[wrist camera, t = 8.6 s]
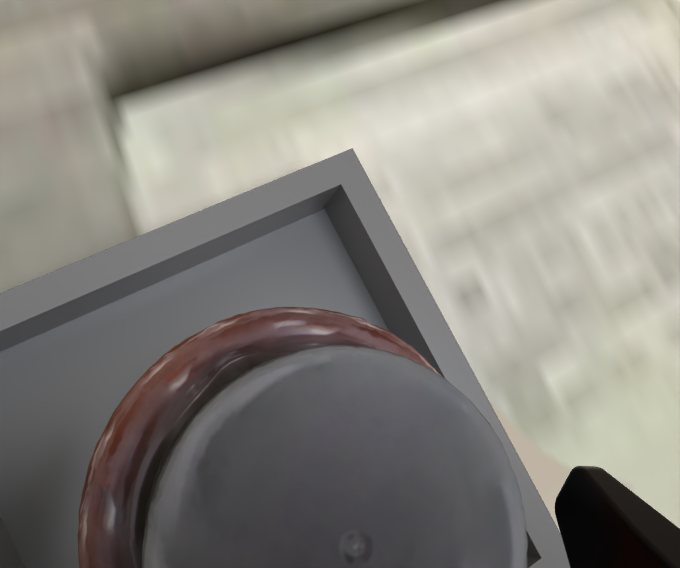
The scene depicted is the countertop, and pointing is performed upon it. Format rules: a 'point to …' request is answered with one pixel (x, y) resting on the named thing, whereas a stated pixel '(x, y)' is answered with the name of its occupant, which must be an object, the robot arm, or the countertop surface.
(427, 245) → the countertop surface
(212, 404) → the supplement bottle
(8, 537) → the bin
